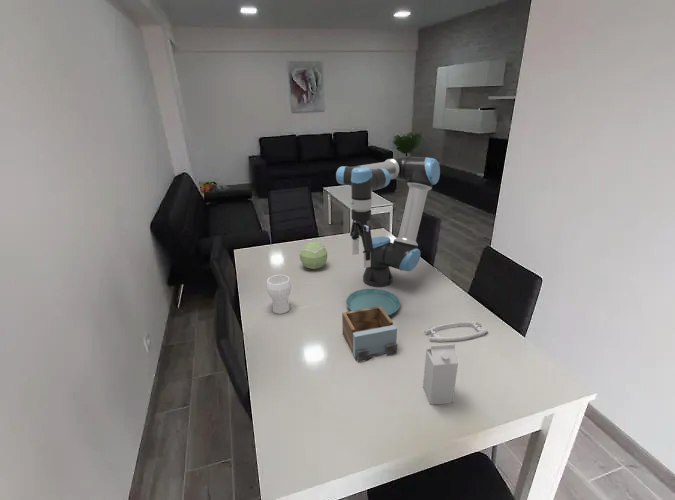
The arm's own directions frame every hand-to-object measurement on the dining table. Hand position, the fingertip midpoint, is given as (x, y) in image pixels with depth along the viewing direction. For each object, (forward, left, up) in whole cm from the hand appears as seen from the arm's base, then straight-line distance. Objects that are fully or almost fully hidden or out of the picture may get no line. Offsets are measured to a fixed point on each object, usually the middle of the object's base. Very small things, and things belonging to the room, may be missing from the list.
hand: (360, 260), depth 141 cm
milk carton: (-8, +49, -27) cm, 56 cm away
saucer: (-8, -6, -27) cm, 29 cm away
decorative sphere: (+8, -56, -27) cm, 63 cm away
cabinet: (+3, +18, -27) cm, 32 cm away
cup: (+32, -17, -27) cm, 45 cm away
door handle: (-32, +23, -27) cm, 48 cm away
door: (+3, +24, -26) cm, 36 cm away
